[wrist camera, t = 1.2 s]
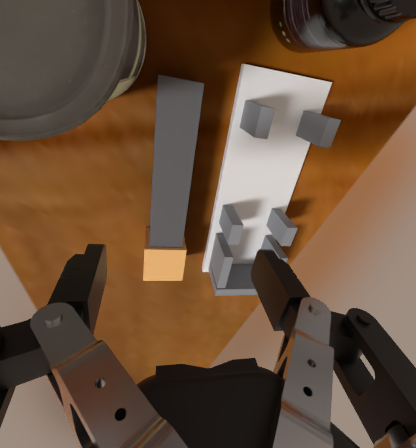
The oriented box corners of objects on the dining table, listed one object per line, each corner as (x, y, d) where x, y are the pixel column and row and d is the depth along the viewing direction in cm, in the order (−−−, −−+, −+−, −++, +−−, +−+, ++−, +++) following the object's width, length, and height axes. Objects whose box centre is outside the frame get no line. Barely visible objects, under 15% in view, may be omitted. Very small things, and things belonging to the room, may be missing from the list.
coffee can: (38, -119, 16) (-330, -707, 4) (171, 25, 20) (193, -35, 8) (-25, 34, 19) (-339, -26, 7) (104, 127, 23) (51, 188, 12)
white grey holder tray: (241, 63, 23) (263, 62, 18) (327, 82, 25) (366, 85, 20) (201, 267, 34) (208, 298, 30) (262, 268, 37) (277, 297, 32)
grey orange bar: (152, 73, 22) (151, 74, 18) (201, 82, 23) (210, 84, 19) (144, 256, 32) (143, 280, 28) (179, 256, 33) (182, 280, 29)
